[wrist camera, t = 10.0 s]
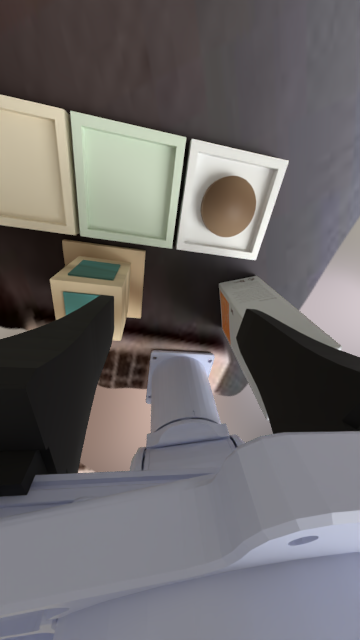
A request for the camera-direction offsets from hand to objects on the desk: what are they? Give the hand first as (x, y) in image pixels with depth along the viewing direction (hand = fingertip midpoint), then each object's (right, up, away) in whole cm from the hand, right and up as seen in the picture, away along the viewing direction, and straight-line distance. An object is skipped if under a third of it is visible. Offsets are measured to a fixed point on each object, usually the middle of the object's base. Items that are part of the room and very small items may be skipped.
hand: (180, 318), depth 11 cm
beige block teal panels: (-7, +3, +9) cm, 12 cm away
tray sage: (-4, +10, +5) cm, 12 cm away
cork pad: (-7, +4, +9) cm, 12 cm away
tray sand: (-12, +11, +4) cm, 17 cm away
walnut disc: (+4, +9, +6) cm, 12 cm away
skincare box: (+6, +2, +12) cm, 14 cm away
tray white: (+4, +10, +7) cm, 12 cm away
